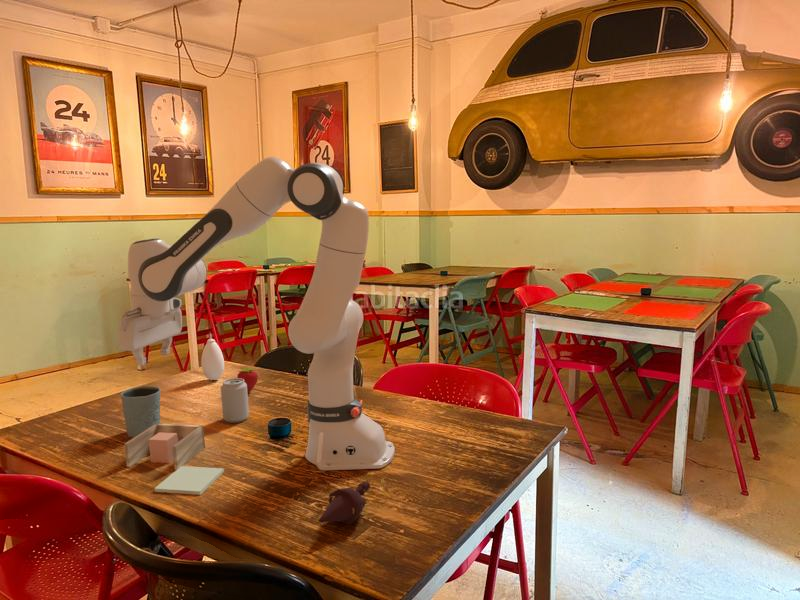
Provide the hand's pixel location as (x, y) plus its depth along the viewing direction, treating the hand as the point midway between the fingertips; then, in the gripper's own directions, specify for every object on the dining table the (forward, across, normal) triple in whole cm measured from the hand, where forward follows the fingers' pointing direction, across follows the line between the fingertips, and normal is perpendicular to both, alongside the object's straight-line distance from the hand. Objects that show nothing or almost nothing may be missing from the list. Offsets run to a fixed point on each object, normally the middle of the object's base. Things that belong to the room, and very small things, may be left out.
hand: (153, 359), depth 139 cm
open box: (+25, 0, -3) cm, 25 cm away
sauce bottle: (+26, +61, +20) cm, 69 cm away
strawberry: (+25, +49, 0) cm, 55 cm away
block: (+25, -2, -3) cm, 25 cm away
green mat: (+25, -12, -16) cm, 32 cm away
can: (+25, +26, -8) cm, 37 cm away
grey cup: (+26, +13, +14) cm, 32 cm away
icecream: (+23, -22, -57) cm, 65 cm away
